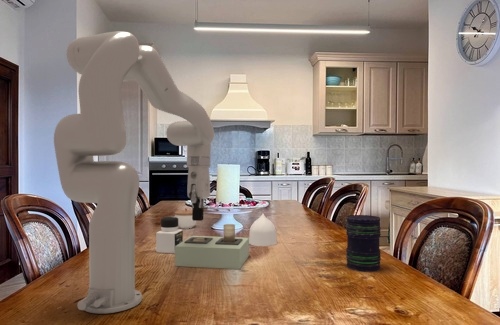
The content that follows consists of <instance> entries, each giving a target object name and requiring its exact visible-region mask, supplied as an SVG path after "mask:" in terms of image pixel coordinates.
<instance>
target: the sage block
mask: <svg viewBox="0 0 500 325" xmlns="http://www.w3.org/2000/svg"><path fill="white" fill-rule="evenodd" d="M195 238H204V239H205V241H204V242H203V241H193V239H195ZM249 256H250V244H249V237H244V236H243V237H242V236H241V237H239V236H238V237H237V236H235V243H231V242H224V236H211V235H210V236H209V235H208V236H206V235H191V236H190V237H188V238H186V239H183V242H181V243H180V244H178V245H176V246H175V253H174V266H175V267H185V268H187V267H189V268H205V269H207V268H209V269H228V270H229V269H231V270H241V268H242V266H244V263H246V261H247V260H248V258H249Z"/></svg>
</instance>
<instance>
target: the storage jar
mask: <svg viewBox="0 0 500 325" xmlns="http://www.w3.org/2000/svg"><path fill="white" fill-rule="evenodd" d="M345 227H346V228H345V229H346V232H345V234H346V236H347V238H346V239H347V242H346V243H347V244H346V246H347V247H346V250H345V258H346V268H347V269H348V270H352V271H355V272H361V273H374V272H375V273H376V272H379V271H380V270H381V261H382V257H381V254H382V252H381V249H380V238H381V235H382V234H381V229H382V228H381V217H379V216H376V215H369V214H368V215H366V214H365V215H364V214H352V215H351V214H350V215H346V225H345Z"/></svg>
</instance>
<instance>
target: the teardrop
mask: <svg viewBox="0 0 500 325" xmlns="http://www.w3.org/2000/svg"><path fill="white" fill-rule="evenodd" d="M277 234H278V233H277V230H276V227H275V225H274V223H273V222H272V221H271V220H270V219H269V218H268V217H266V215H265V214H264V212H262V214H261V215H260V216H259V217H258V218H257V219H256V220H254V222H252V225H251V226H250V228H249V235H248V238H249V245H251V246H255V247H270V246H276V245H277V244H278V241H277V240H278V236H277Z"/></svg>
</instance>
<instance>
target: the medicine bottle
mask: <svg viewBox="0 0 500 325" xmlns="http://www.w3.org/2000/svg"><path fill="white" fill-rule="evenodd" d="M160 229H161V230H159V231H157V232H156V233H155V234H156V235H155V238H156V240H155V243H156V244H155V245H156V246H155V247H156V248H155V252H156V253H157V254H175V246H176V245H178V244H180V243H181V242H183V241H184V238H183V236H184V235H183V234H184V233H183V232H184V231H183V229H181V228H179V226H178V218H177V217H175V216H164V217H161V219H160Z"/></svg>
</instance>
